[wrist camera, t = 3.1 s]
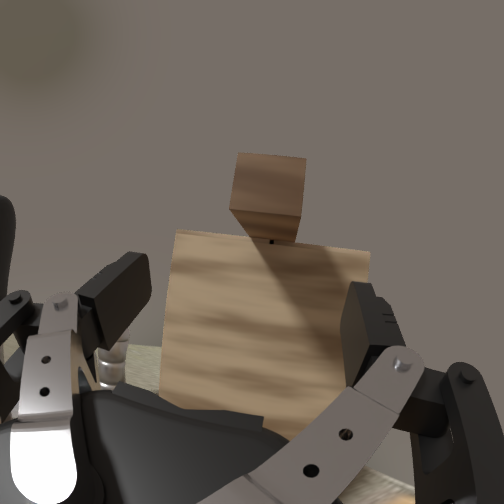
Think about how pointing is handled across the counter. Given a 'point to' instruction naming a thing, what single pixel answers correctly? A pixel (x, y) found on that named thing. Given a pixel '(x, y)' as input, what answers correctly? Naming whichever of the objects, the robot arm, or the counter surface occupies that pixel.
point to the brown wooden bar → (268, 195)
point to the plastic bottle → (113, 363)
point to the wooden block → (256, 326)
